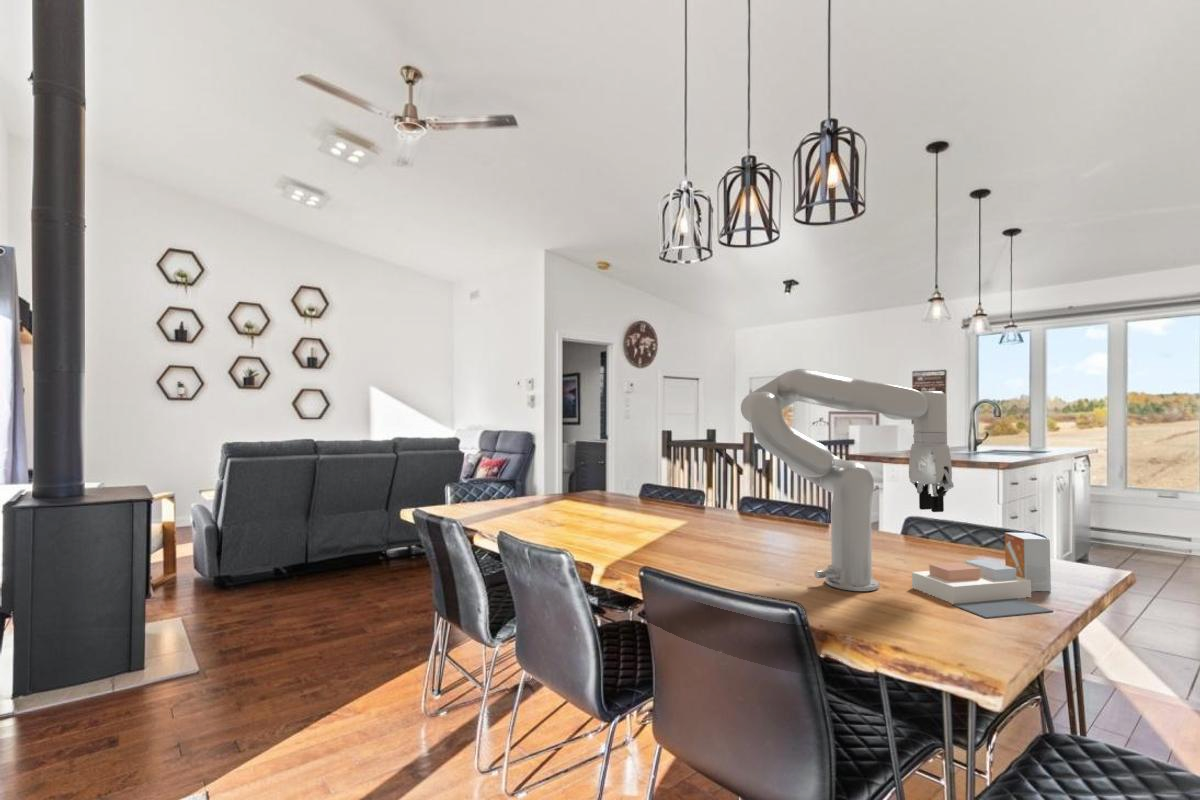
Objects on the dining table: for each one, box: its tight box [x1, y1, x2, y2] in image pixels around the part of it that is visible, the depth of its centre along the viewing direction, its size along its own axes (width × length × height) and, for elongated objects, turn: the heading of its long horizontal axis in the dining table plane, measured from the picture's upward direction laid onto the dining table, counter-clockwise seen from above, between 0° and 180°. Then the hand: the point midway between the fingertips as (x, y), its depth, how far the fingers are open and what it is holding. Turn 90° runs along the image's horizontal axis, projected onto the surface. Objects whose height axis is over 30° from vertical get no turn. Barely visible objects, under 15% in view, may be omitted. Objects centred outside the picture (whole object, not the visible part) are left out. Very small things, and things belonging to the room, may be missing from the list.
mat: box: [951, 598, 1054, 619], centre depth 133 cm, size 18×9×1 cm, turn 103°
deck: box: [911, 570, 1032, 604], centre depth 145 cm, size 22×13×4 cm, turn 103°
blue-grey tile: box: [964, 558, 1016, 580], centre depth 146 cm, size 9×6×2 cm, turn 13°
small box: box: [1004, 532, 1052, 593], centre depth 149 cm, size 8×6×13 cm
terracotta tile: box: [928, 562, 980, 581], centre depth 144 cm, size 9×6×2 cm, turn 103°
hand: (931, 509), depth 151 cm, fingers open, 3 cm apart
